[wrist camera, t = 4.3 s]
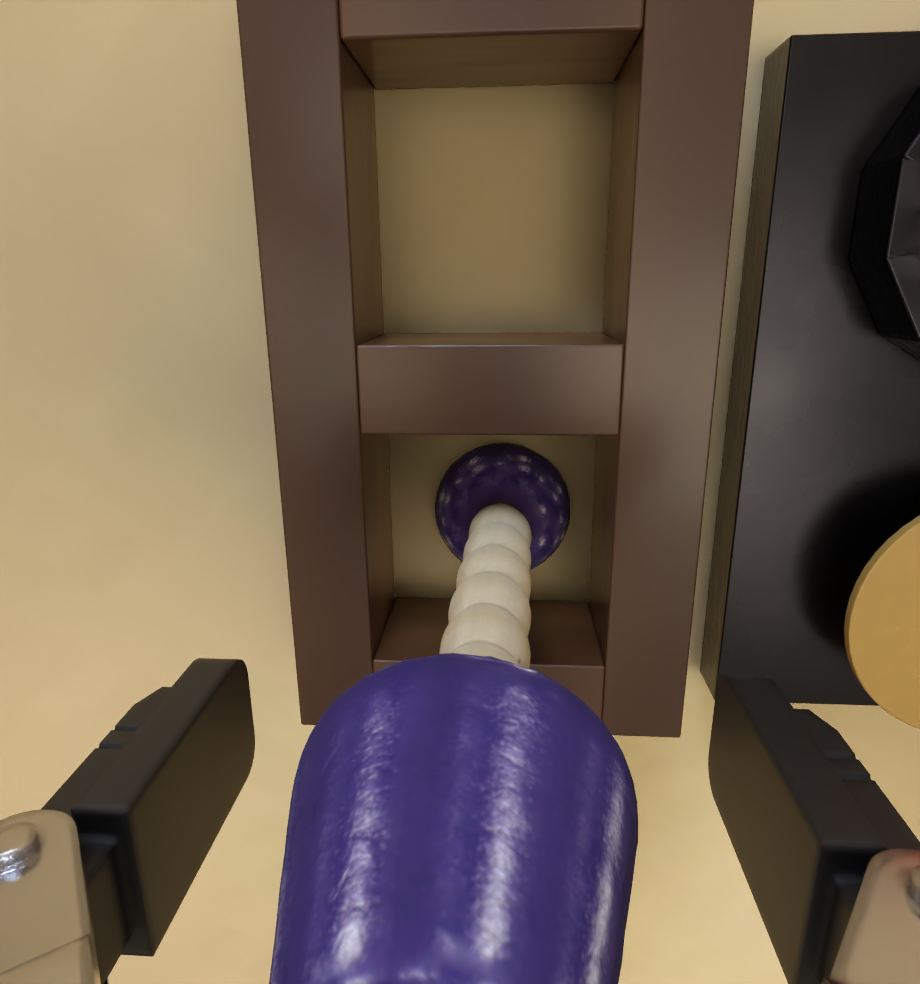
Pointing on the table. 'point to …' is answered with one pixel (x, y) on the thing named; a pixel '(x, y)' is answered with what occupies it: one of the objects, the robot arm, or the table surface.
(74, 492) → the table surface
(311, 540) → the rack
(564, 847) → the toy lamp
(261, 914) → the table surface
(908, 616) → the brass plate
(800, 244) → the switch base
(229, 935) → the table surface
